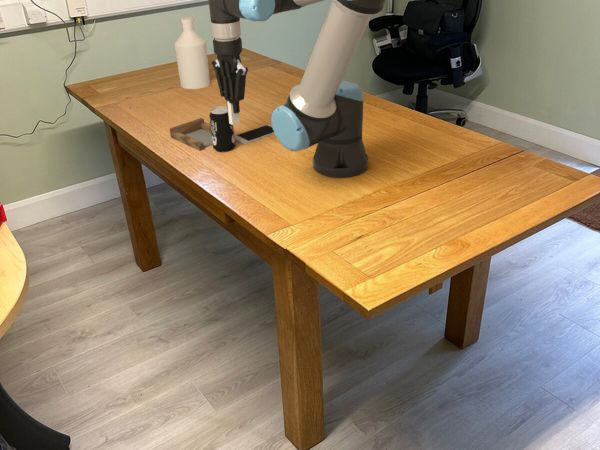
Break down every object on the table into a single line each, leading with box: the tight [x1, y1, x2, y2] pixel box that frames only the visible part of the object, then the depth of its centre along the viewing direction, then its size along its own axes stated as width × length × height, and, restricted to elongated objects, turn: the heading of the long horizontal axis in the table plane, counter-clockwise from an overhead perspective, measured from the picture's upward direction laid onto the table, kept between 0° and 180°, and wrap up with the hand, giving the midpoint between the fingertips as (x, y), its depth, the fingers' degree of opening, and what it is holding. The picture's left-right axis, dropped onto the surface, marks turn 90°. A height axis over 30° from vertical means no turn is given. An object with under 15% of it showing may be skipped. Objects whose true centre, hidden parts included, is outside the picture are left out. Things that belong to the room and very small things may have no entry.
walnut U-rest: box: [169, 117, 211, 151], centre depth 181 cm, size 16×12×3 cm
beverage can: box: [209, 106, 236, 153], centre depth 171 cm, size 7×7×12 cm
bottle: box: [173, 16, 211, 90], centre depth 223 cm, size 12×12×25 cm
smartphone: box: [234, 123, 275, 145], centre depth 183 cm, size 7×15×1 cm, turn 130°
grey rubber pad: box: [186, 129, 213, 149], centre depth 181 cm, size 12×8×1 cm
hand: (234, 122), depth 165 cm, fingers closed
